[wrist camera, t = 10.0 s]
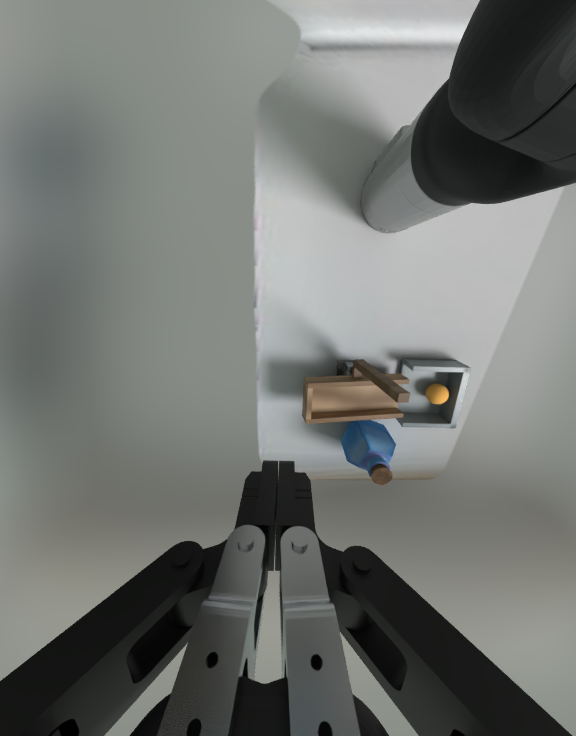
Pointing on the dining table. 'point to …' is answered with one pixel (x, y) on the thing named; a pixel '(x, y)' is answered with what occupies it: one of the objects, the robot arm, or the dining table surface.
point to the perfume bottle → (369, 449)
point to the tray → (421, 378)
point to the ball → (437, 393)
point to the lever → (354, 395)
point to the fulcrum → (344, 368)
